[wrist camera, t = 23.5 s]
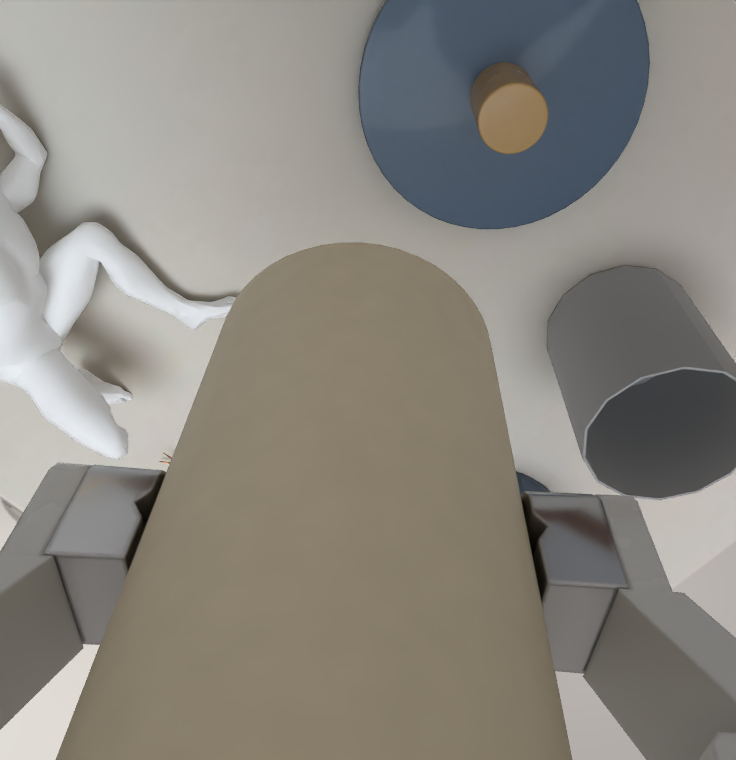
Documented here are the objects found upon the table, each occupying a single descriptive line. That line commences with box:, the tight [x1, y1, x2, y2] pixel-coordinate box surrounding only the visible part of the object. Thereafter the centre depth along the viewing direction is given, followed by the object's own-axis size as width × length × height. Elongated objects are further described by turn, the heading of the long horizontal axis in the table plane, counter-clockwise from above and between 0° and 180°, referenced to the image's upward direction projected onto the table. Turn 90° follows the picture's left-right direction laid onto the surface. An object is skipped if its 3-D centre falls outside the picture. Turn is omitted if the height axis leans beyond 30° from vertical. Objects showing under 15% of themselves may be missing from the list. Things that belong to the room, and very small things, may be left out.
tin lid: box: [359, 0, 650, 229], centre depth 32 cm, size 14×14×5 cm
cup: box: [547, 265, 736, 500], centre depth 38 cm, size 8×8×10 cm
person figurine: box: [0, 104, 236, 459], centre depth 37 cm, size 13×13×18 cm
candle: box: [56, 243, 572, 760], centre depth 9 cm, size 5×5×9 cm
